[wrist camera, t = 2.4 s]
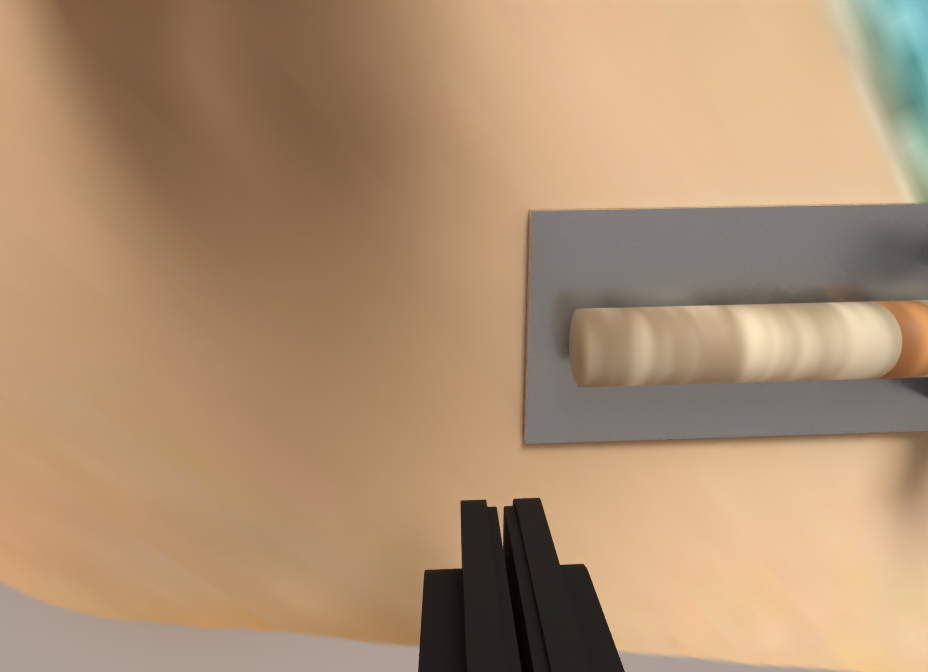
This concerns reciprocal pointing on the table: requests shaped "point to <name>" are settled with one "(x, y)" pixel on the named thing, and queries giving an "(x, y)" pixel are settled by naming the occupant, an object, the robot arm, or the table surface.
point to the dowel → (749, 343)
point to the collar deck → (716, 283)
